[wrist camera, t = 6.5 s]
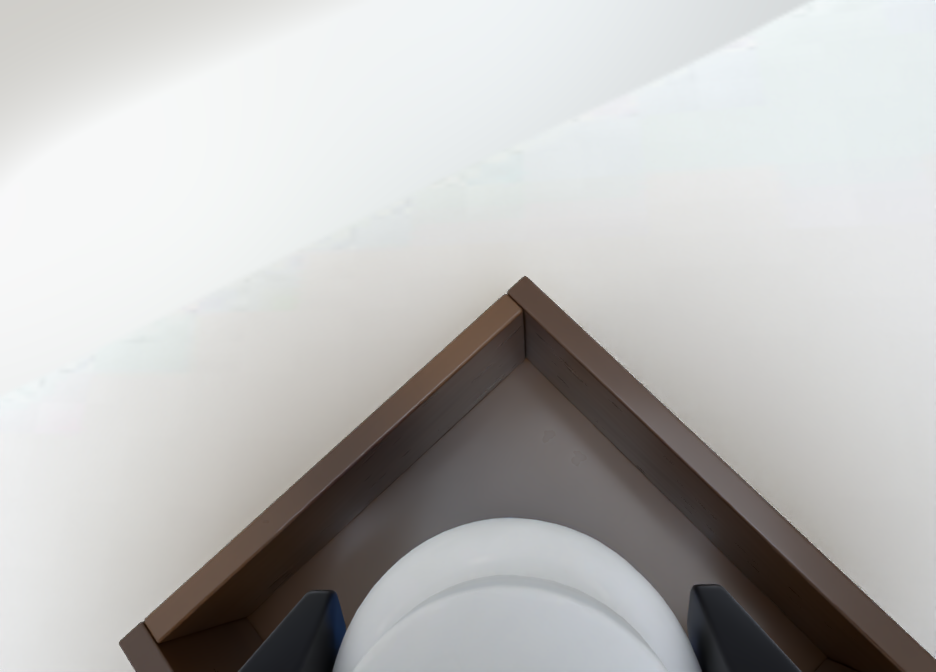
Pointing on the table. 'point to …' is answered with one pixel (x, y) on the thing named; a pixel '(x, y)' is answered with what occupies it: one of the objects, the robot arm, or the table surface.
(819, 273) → the table surface
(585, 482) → the open box
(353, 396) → the table surface
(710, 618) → the robot arm
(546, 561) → the pill bottle
